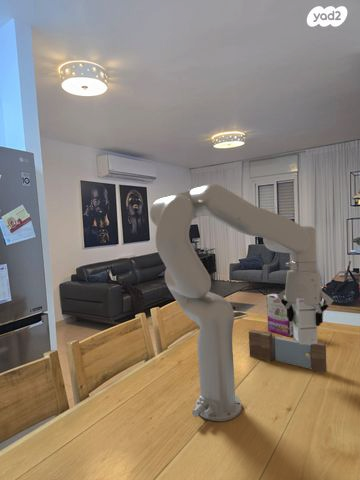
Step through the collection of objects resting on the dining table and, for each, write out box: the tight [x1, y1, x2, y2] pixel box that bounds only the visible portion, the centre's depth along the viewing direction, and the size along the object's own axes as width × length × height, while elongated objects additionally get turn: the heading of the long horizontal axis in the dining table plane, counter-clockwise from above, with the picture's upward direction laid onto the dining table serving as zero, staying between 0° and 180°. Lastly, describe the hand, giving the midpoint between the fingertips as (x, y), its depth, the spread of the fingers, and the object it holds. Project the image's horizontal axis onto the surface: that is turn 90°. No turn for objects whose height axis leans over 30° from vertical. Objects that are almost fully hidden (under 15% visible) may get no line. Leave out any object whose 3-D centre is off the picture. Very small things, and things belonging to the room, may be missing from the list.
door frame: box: [248, 329, 328, 375], centre depth 109 cm, size 3×26×10 cm, turn 53°
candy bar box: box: [266, 292, 294, 338], centre depth 137 cm, size 11×5×16 cm, turn 37°
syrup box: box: [292, 298, 318, 344], centre depth 98 cm, size 6×6×14 cm
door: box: [272, 334, 312, 369], centre depth 108 cm, size 2×13×9 cm, turn 52°
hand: (304, 322), depth 98 cm, fingers closed on syrup box, 7 cm apart
